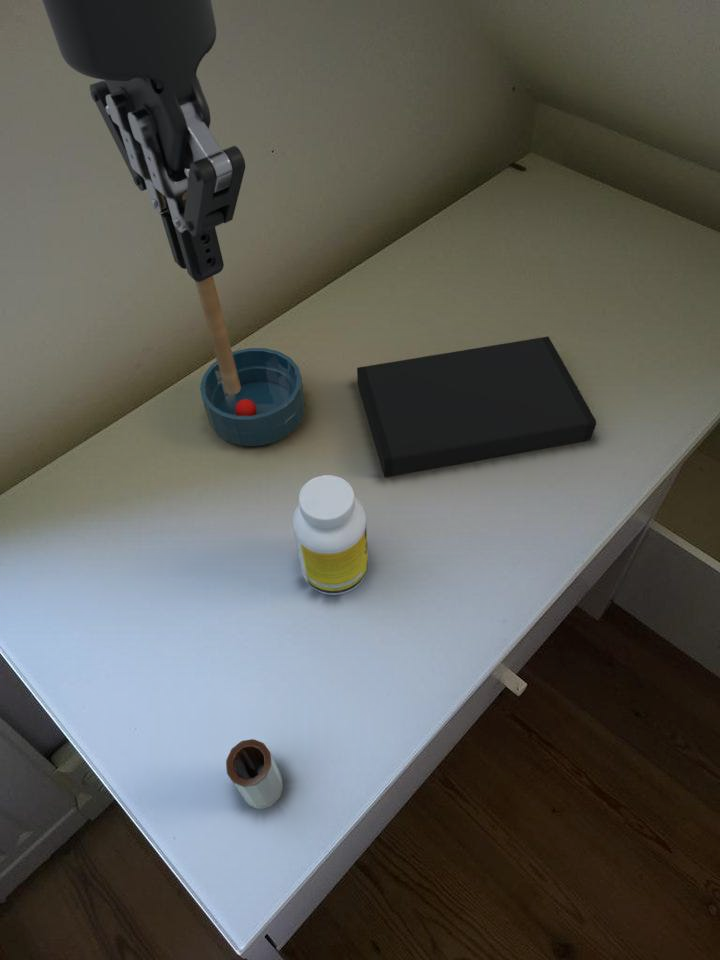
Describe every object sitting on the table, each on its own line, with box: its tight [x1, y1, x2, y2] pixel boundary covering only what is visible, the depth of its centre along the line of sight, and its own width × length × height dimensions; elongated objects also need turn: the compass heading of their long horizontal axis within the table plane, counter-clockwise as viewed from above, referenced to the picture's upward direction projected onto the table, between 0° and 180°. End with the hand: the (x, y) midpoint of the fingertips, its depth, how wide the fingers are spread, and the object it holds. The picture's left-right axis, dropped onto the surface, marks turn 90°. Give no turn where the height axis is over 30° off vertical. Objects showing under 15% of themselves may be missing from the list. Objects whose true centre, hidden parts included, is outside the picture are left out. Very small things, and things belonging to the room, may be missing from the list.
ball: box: [235, 399, 257, 416], centre depth 77 cm, size 2×2×2 cm
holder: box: [225, 738, 284, 810], centre depth 52 cm, size 3×3×7 cm
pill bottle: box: [292, 474, 369, 596], centre depth 62 cm, size 6×6×12 cm
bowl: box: [199, 347, 306, 447], centre depth 77 cm, size 11×11×5 cm
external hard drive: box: [356, 336, 597, 478], centre depth 77 cm, size 14×23×3 cm, turn 102°
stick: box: [182, 192, 241, 395], centre depth 46 cm, size 1×1×16 cm
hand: (200, 267), depth 44 cm, fingers closed on stick, 1 cm apart
